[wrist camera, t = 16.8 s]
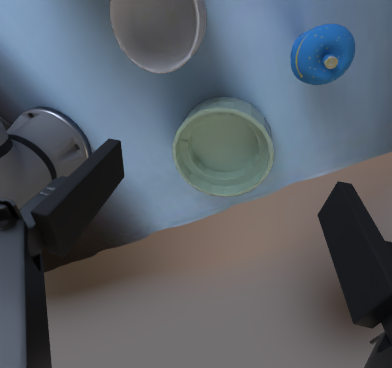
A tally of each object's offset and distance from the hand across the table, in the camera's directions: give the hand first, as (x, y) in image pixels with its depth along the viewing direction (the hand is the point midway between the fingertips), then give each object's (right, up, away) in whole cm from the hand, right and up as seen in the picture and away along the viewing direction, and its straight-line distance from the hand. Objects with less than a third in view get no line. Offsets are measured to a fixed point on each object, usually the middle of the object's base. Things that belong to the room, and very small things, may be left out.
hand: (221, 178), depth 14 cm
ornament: (+13, +19, +17) cm, 28 cm away
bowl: (+4, +7, +27) cm, 28 cm away
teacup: (-5, +24, +17) cm, 30 cm away
